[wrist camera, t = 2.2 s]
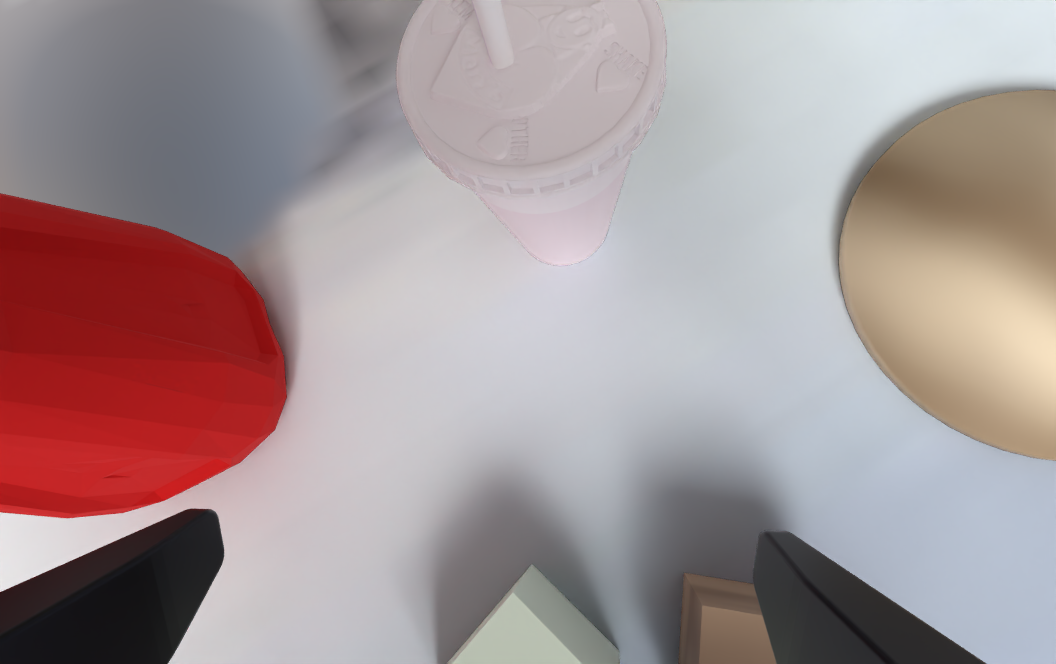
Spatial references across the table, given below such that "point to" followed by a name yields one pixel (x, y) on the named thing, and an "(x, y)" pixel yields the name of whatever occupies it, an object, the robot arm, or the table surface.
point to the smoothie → (535, 107)
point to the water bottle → (123, 363)
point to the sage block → (536, 630)
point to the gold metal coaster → (964, 268)
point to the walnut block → (722, 623)
